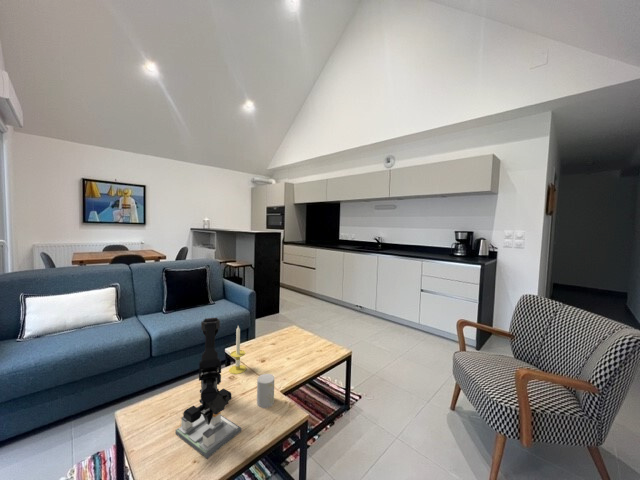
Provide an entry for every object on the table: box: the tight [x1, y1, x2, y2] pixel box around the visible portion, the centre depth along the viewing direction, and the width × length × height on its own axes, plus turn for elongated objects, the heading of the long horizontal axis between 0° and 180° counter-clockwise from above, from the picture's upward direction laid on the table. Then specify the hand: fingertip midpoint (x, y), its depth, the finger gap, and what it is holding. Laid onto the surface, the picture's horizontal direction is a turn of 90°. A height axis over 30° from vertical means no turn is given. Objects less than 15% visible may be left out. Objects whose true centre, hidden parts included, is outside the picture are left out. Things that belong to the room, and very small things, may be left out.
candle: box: [228, 325, 247, 375], centre depth 157 cm, size 10×10×27 cm
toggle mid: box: [210, 411, 222, 425], centre depth 113 cm, size 3×3×4 cm
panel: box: [175, 414, 242, 459], centre depth 110 cm, size 21×16×2 cm
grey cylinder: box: [256, 373, 275, 409], centre depth 129 cm, size 8×8×12 cm
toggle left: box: [180, 416, 193, 430], centre depth 110 cm, size 3×3×4 cm
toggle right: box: [203, 428, 215, 447], centre depth 102 cm, size 3×3×4 cm
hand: (208, 424), depth 110 cm, fingers closed
